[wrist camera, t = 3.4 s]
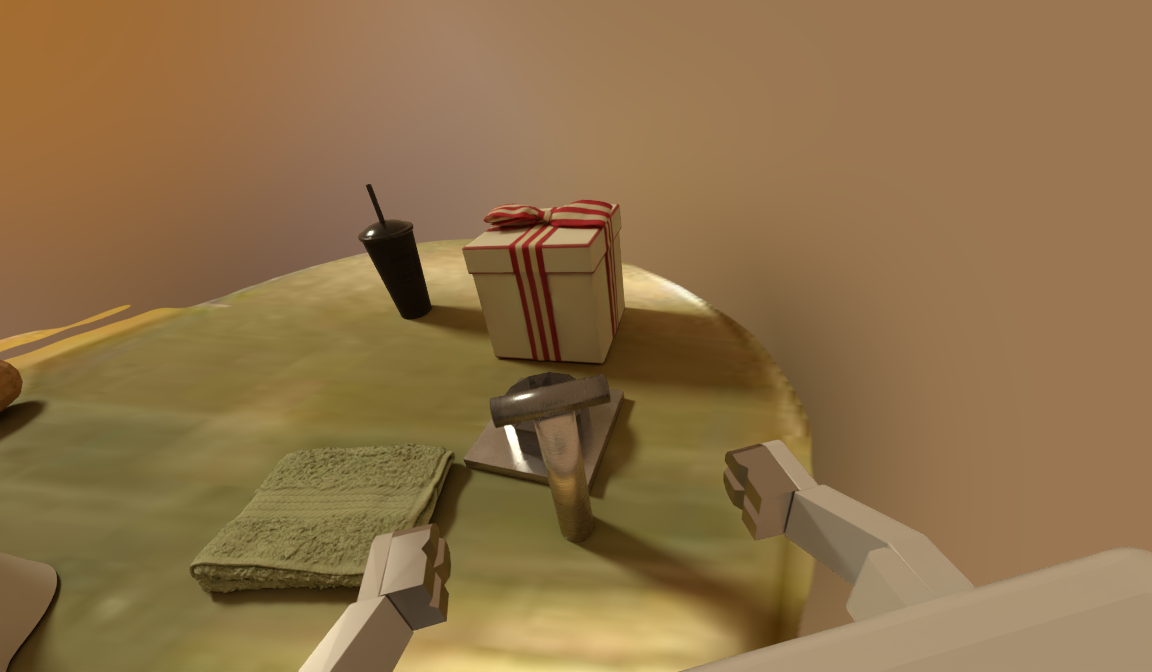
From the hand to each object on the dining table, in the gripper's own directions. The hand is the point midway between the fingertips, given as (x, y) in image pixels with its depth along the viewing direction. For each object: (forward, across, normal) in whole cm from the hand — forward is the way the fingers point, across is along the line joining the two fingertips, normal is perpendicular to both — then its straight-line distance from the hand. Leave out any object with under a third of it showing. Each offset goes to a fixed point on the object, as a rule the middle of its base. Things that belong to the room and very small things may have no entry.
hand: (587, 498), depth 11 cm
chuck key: (+12, -1, -19) cm, 23 cm away
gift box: (+42, +3, -20) cm, 47 cm away
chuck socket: (+23, -1, -19) cm, 30 cm away
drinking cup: (+56, -19, -20) cm, 62 cm away
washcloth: (+18, -20, -20) cm, 34 cm away
